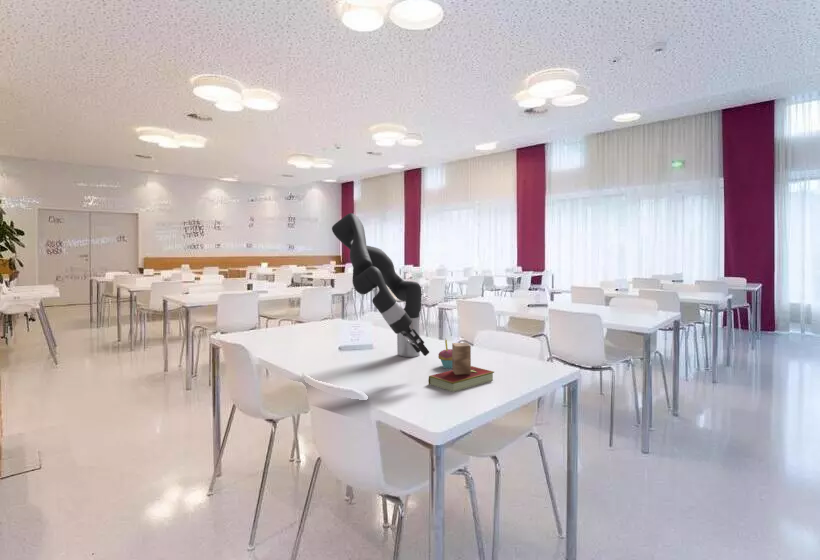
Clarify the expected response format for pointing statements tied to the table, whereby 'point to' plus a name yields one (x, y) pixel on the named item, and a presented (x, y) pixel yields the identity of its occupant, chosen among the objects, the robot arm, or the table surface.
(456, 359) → the block
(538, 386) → the table surface
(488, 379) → the hardcover book
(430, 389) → the table surface
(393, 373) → the table surface
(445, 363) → the cupcake
